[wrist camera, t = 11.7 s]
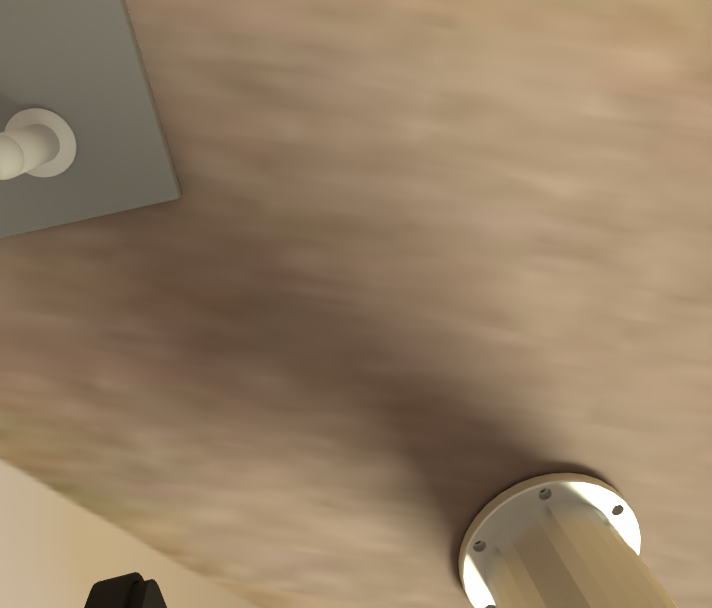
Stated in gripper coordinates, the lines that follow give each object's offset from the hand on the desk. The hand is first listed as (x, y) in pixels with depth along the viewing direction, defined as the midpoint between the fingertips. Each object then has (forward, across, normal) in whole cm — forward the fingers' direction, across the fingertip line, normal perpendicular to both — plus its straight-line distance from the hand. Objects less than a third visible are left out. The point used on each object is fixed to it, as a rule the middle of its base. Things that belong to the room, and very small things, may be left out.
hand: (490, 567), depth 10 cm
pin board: (+28, +13, -12) cm, 33 cm away
